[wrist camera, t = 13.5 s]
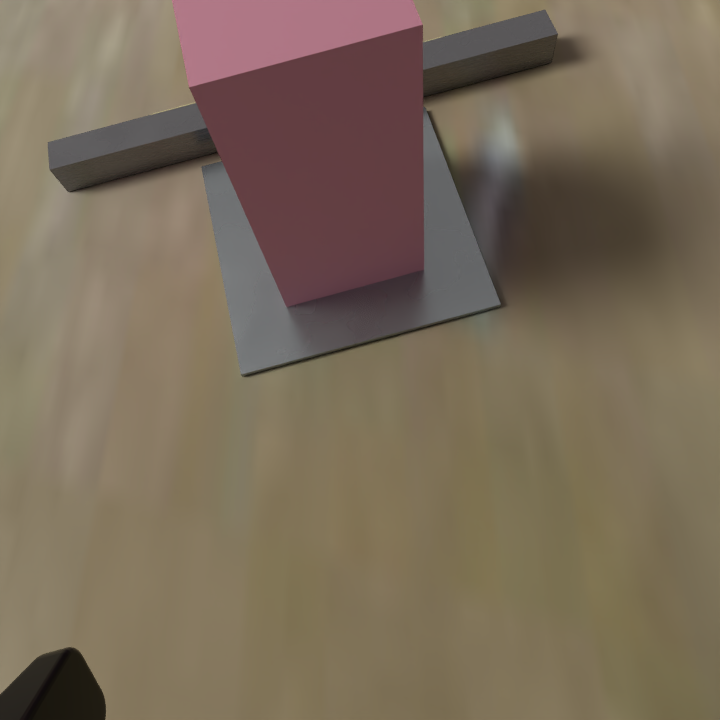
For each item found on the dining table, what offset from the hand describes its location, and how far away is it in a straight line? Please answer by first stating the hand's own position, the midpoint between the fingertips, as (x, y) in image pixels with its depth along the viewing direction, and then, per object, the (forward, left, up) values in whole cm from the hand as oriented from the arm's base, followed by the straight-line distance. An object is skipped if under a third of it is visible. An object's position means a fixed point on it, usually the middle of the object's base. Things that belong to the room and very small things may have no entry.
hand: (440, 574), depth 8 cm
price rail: (+5, -15, -14) cm, 21 cm away
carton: (+5, -14, -13) cm, 20 cm away
